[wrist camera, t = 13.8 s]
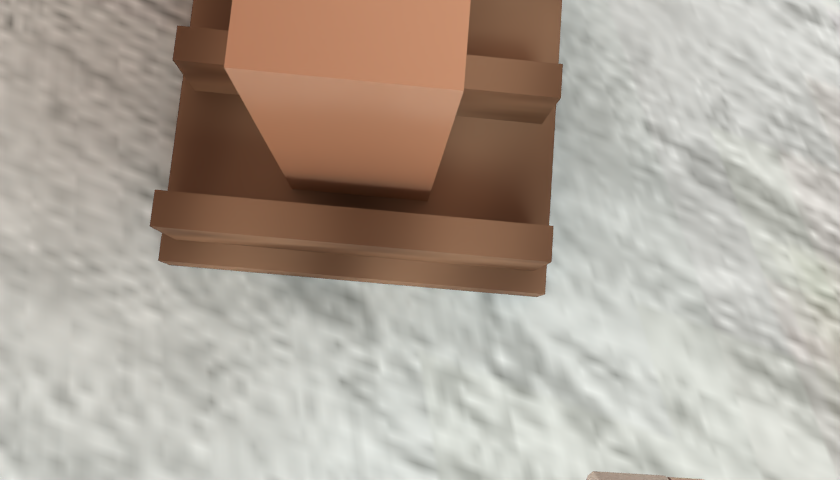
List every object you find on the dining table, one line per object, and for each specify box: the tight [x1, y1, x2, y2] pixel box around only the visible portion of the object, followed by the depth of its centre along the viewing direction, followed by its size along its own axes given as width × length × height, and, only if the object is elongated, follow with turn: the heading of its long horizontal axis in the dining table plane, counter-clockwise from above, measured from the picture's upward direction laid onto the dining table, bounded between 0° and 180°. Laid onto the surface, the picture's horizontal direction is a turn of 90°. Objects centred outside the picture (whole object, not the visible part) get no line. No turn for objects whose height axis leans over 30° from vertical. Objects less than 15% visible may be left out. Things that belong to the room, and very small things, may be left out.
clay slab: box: [224, 0, 471, 201], centre depth 22 cm, size 5×2×12 cm, turn 85°
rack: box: [150, 0, 563, 297], centre depth 27 cm, size 14×14×4 cm
